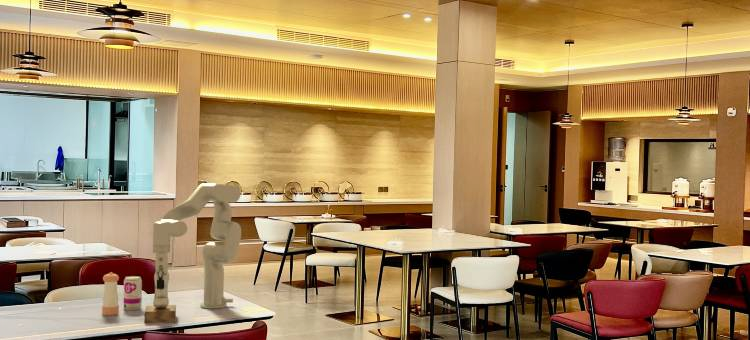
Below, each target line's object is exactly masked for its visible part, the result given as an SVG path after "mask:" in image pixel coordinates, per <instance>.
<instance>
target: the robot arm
mask: <svg viewBox="0 0 750 340" xmlns="http://www.w3.org/2000/svg"><path fill="white" fill-rule="evenodd" d="M241 195H242V192H241V189H240V187H238V186H237V185H234V184H222V183H210V182H206V183H201V184H199V185H198V186H197V187H196V188H195V189H194V191H192V192H191V194H190V195H189V196H188V197H187V199H185V201H183V202H182V203H180V204H178V205H176V206H174V207H172V208H171V209H169V210H168V211H167V212H165V213H164V215H162V217H161V218H160V219H159V221H154V223H153V225H152V253H154V254H155V261H154V262H155V273H156V275H157V274H158V275H157V289H164V274H166V275H167V274H168V273H169V253H171V237H172V238H173V237H174V238H175V237H176V238H180V237H183V236H185V235H186V233H187V231H188V225H187V224H186V222H184V221H182V220H185V219H187V218H192V217H194V216H196V215H199V214H200V212H201V211H202V210H203V209H204V208H205V207H206V206H207V204H208V203H209V202H212V203H213V207H214V213H213V219H212V223H211V227H210V237H211V238H212V239H214V240H217V242H216V241H210V242H209V241H208V242H206V243H205V244H204V246H203V247H202V251H201V255H202V260H203V266H204V267H203V269H204V271H203V272H204V273H203V302H202V303H200V307H201V308H202V309H208V310H209V309H211V310H213V309H223V308H226V307H227V305H228V304H229V303H231V304H232V303H233V302H234V299H233V298H230V297H229V298H226V297H225V296H224V293H225V291H224V288H225V287H224V286H225V281H224V280H225V270H224V265H223V264H225V263H226V264H231V263H233V262H234V261H235V260H236V257H237V256H238V251H239V247H240V243H241V239H242V228H241V225H240V223H238V222H235V221H232V217H233V209H232V207H231V204H232V203H236V202H238V201H239V200H240V198H241ZM230 203H231V204H230ZM218 240H219V241H224V242H219V241H218ZM157 272H158V273H157ZM162 277H163V278H162ZM227 303H228V304H227Z"/></svg>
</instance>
